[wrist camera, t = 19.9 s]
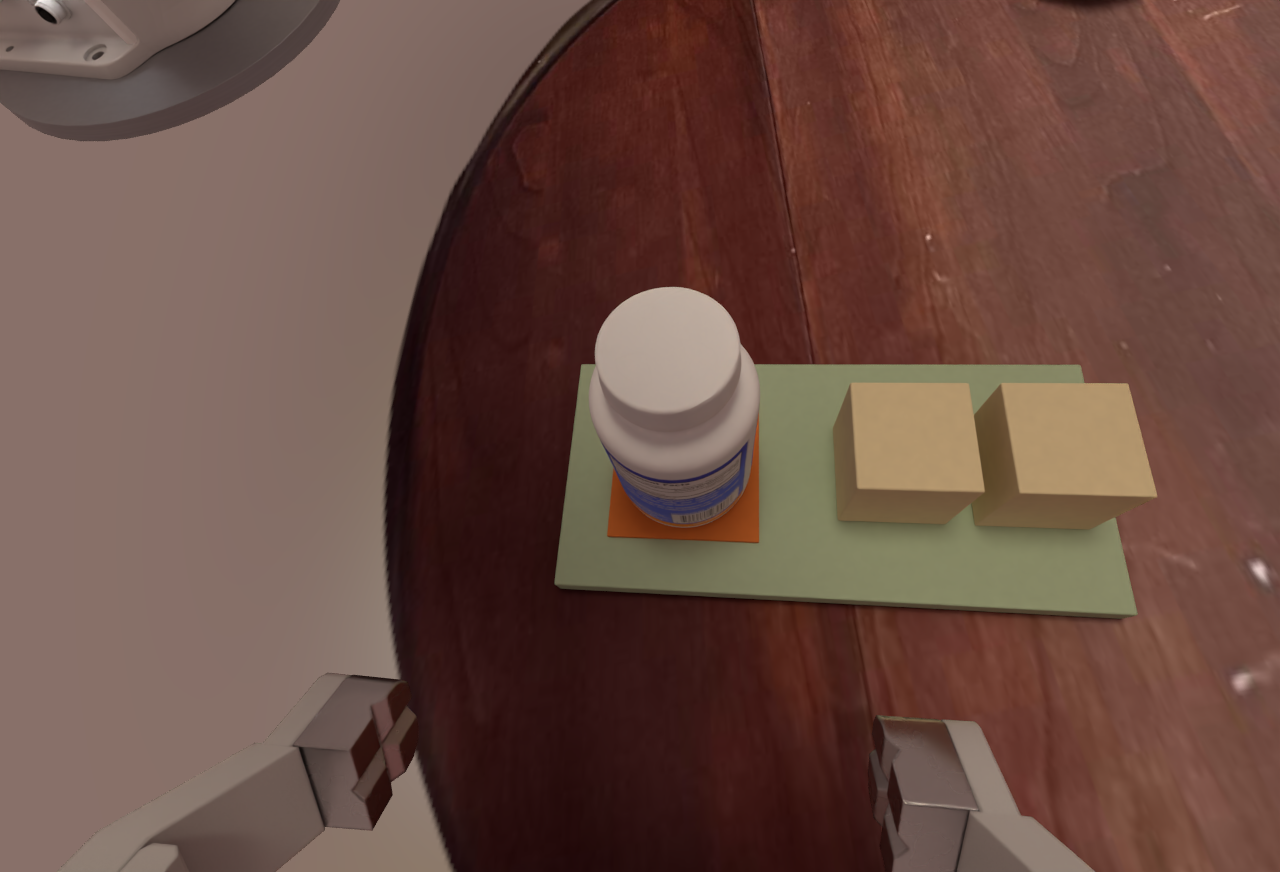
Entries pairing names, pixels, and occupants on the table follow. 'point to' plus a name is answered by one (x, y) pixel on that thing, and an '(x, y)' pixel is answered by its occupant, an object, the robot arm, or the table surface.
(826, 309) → the table surface
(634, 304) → the pill bottle
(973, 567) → the word mat
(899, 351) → the table surface
